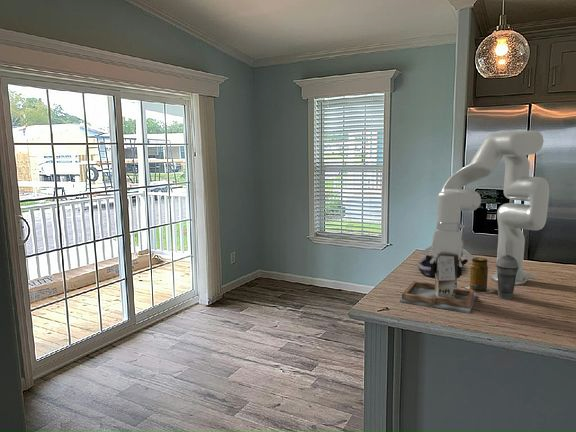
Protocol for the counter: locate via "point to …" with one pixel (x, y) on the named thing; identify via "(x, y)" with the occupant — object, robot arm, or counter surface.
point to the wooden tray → (437, 297)
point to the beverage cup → (506, 275)
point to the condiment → (479, 276)
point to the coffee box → (446, 276)
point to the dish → (425, 266)
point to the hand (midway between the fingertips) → (445, 275)
